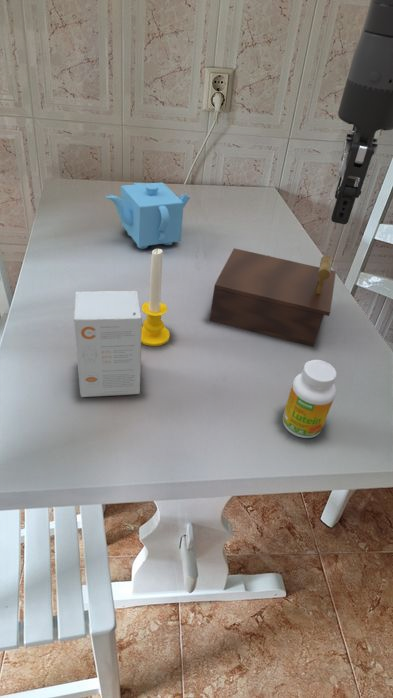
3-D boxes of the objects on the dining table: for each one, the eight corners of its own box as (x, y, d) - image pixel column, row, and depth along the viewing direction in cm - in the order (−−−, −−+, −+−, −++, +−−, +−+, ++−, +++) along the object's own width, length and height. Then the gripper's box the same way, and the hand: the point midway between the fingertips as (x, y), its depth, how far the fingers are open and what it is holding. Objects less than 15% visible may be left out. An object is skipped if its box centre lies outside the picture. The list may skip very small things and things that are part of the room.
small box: (136, 364, 72) (138, 289, 63) (140, 395, 67) (142, 318, 59) (80, 366, 70) (74, 290, 62) (79, 398, 65) (73, 319, 57)
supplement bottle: (281, 435, 64) (298, 380, 58) (282, 406, 68) (298, 352, 62) (322, 442, 63) (343, 388, 57) (321, 413, 68) (340, 360, 61)
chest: (320, 304, 89) (330, 274, 85) (313, 347, 79) (323, 315, 75) (228, 282, 92) (233, 252, 88) (209, 320, 82) (213, 289, 78)
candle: (139, 347, 75) (142, 257, 65) (133, 327, 78) (135, 239, 69) (172, 344, 76) (180, 255, 66) (165, 324, 80) (171, 237, 70)
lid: (334, 274, 85) (343, 247, 82) (328, 316, 75) (338, 286, 72) (233, 251, 88) (237, 224, 85) (214, 288, 78) (218, 258, 75)
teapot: (201, 249, 101) (207, 197, 94) (118, 262, 94) (118, 206, 87) (170, 217, 112) (174, 168, 105) (93, 226, 105) (91, 174, 98)
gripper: (417, 97, 51) (367, 237, 62) (409, 75, 62) (367, 197, 73) (345, 85, 53) (308, 225, 63) (350, 65, 63) (317, 187, 74)
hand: (340, 210), depth 68 cm, fingers open, 8 cm apart
